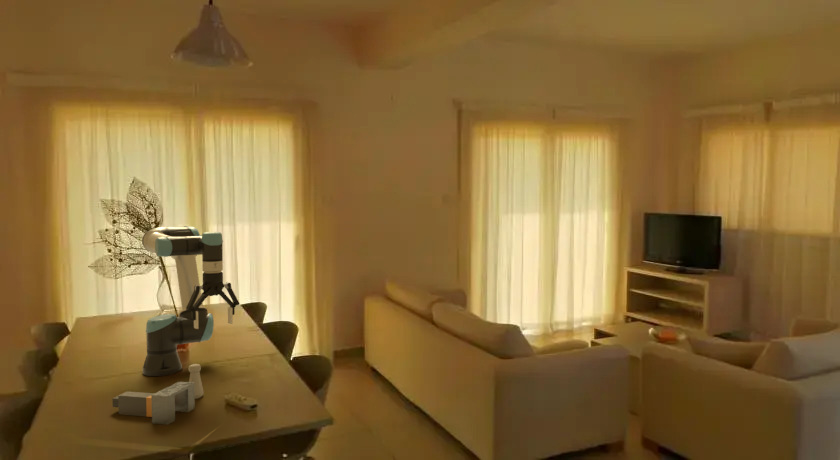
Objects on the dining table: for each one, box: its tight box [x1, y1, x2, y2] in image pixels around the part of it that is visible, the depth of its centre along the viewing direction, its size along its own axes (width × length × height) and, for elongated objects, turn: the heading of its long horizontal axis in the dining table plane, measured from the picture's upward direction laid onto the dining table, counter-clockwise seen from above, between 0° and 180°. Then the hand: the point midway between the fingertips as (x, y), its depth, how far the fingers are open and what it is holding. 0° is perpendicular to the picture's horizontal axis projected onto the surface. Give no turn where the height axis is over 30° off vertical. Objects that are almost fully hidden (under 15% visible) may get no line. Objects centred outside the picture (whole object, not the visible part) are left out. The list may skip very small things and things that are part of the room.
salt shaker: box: [188, 363, 204, 400], centre depth 222 cm, size 6×6×13 cm
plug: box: [111, 390, 154, 418], centre depth 208 cm, size 17×4×6 cm, turn 77°
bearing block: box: [151, 381, 196, 426], centre depth 205 cm, size 6×15×10 cm, turn 167°
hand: (213, 325), depth 235 cm, fingers open, 13 cm apart
